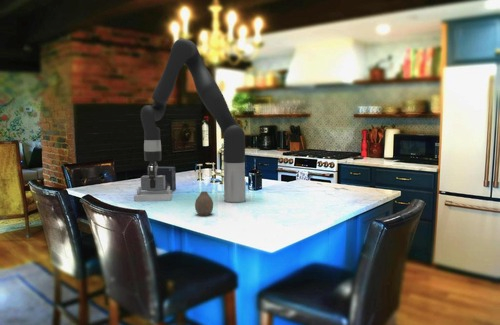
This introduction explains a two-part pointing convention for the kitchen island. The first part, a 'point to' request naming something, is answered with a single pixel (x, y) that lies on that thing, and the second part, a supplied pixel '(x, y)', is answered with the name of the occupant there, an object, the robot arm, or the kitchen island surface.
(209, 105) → the robot arm
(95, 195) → the kitchen island surface
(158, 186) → the block
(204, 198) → the vase
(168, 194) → the tray
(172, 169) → the small box
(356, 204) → the kitchen island surface
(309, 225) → the kitchen island surface
